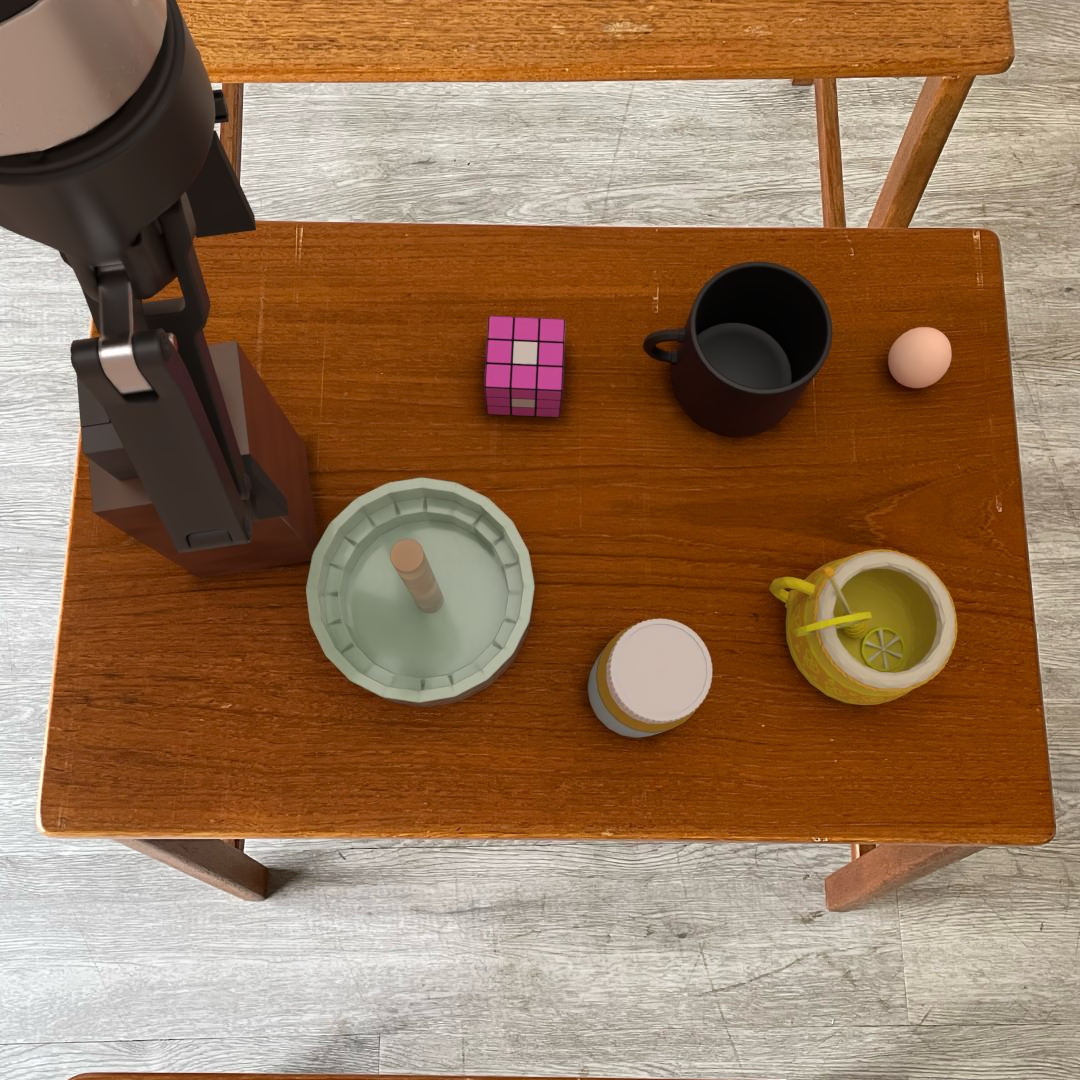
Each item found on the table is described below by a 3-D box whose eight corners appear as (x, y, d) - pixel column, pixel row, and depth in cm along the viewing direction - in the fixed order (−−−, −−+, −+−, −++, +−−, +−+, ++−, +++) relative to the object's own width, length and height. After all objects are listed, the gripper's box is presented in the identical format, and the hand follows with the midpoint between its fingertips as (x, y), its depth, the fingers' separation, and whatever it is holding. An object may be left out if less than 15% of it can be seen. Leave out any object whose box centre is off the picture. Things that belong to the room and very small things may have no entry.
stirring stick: (418, 615, 76) (392, 574, 61) (414, 588, 77) (387, 541, 61) (445, 610, 76) (426, 568, 61) (441, 584, 77) (421, 535, 61)
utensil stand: (200, 578, 77) (52, 488, 53) (188, 464, 79) (41, 327, 55) (320, 559, 78) (229, 461, 54) (305, 446, 80) (211, 302, 56)
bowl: (337, 723, 75) (321, 719, 69) (311, 517, 79) (294, 497, 73) (548, 687, 76) (551, 680, 70) (514, 485, 80) (513, 462, 74)
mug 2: (945, 599, 78) (1020, 568, 66) (891, 732, 76) (959, 724, 64) (789, 526, 79) (836, 483, 67) (732, 655, 77) (769, 633, 65)
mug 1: (640, 310, 83) (655, 250, 73) (799, 324, 83) (835, 266, 73) (631, 429, 81) (646, 384, 71) (795, 444, 81) (831, 400, 71)
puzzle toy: (562, 349, 82) (565, 318, 76) (559, 417, 81) (562, 391, 75) (490, 345, 82) (488, 314, 76) (486, 414, 81) (484, 387, 75)
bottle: (613, 625, 77) (634, 591, 63) (697, 669, 77) (739, 644, 62) (570, 709, 76) (582, 694, 61) (656, 755, 75) (688, 750, 61)
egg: (942, 390, 82) (973, 362, 76) (889, 403, 82) (916, 376, 76) (924, 339, 83) (953, 308, 77) (871, 352, 82) (896, 321, 77)
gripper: (226, 498, 23) (359, 627, 44) (137, -379, 28) (294, 107, 49) (-122, 549, 23) (179, 655, 43) (-147, -353, 28) (133, 127, 48)
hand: (240, 365), depth 46 cm, fingers open, 13 cm apart
